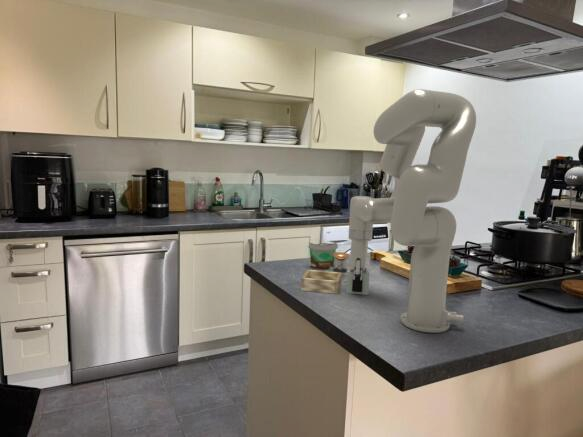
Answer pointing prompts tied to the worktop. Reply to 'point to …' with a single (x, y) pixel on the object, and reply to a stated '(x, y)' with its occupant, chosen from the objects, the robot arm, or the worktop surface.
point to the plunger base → (343, 275)
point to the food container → (322, 255)
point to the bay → (321, 281)
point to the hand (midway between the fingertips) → (357, 288)
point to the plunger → (340, 261)
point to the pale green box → (364, 286)
